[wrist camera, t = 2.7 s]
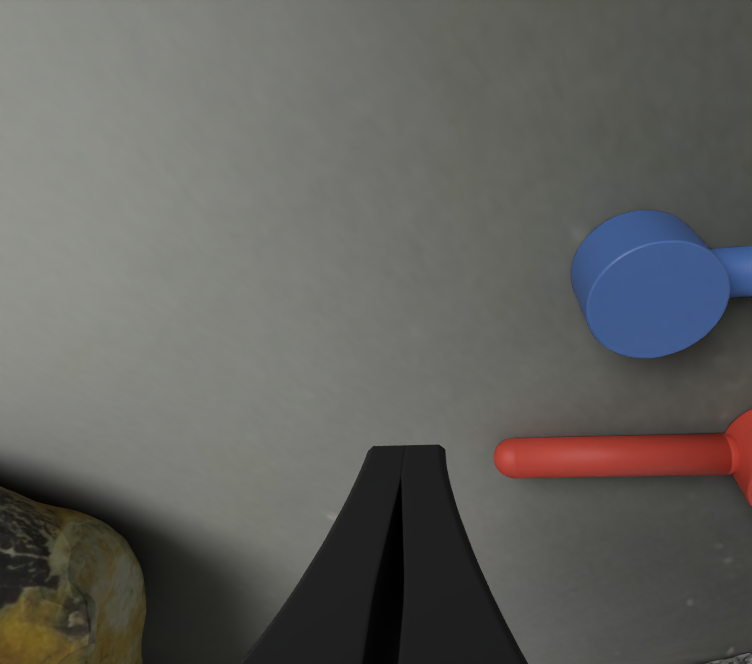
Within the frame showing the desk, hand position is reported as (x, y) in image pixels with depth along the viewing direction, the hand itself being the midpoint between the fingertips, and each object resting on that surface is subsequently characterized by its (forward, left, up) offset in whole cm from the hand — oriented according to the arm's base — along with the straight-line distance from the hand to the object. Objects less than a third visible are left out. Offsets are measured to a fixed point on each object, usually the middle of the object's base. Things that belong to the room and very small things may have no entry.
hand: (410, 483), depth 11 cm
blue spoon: (0, -10, -8) cm, 13 cm away
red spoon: (-7, -8, -8) cm, 14 cm away
